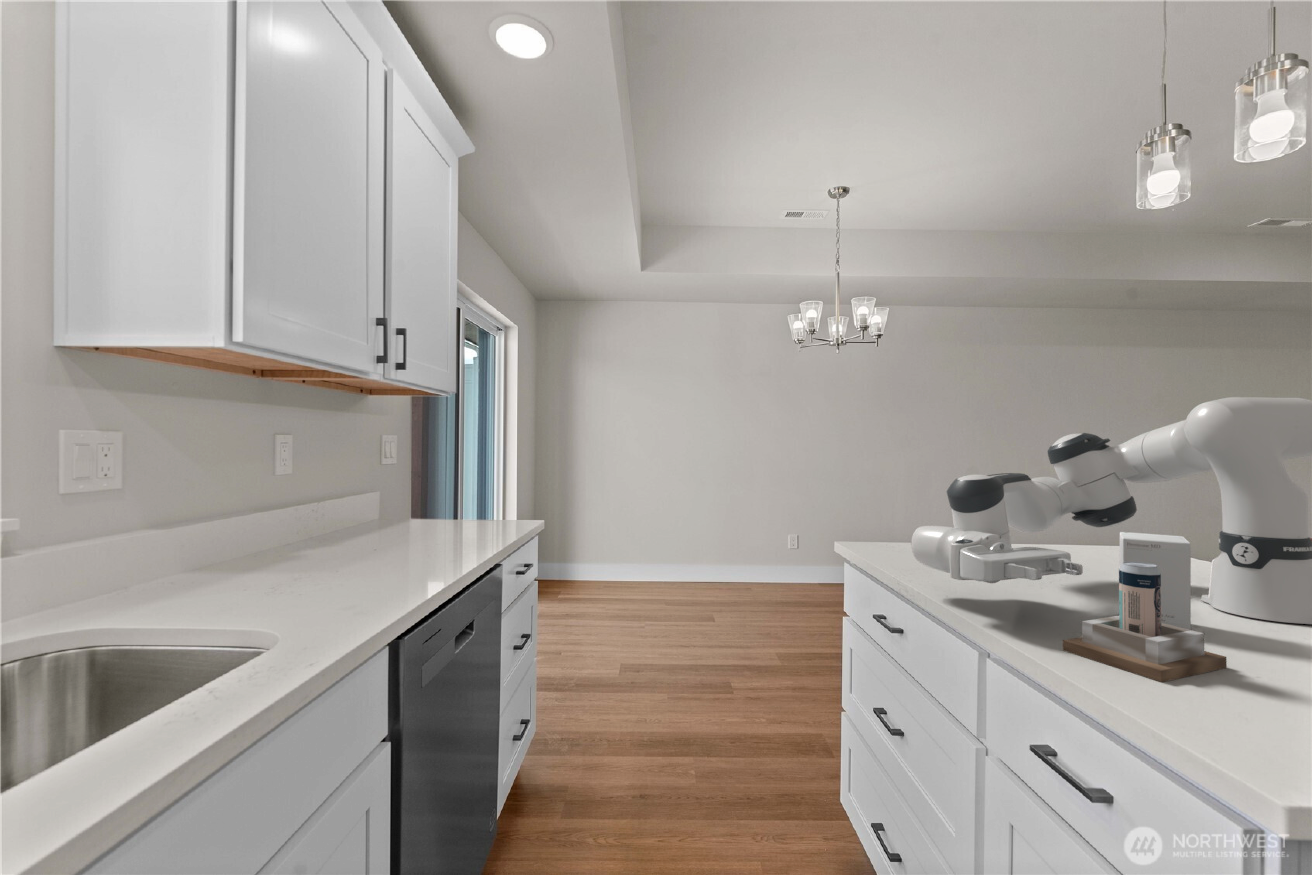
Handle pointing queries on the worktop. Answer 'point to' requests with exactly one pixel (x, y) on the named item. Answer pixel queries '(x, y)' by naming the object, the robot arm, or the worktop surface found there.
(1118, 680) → the worktop surface
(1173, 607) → the supplement box
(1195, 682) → the worktop surface
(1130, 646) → the socket base
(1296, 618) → the robot arm
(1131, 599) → the beer can
